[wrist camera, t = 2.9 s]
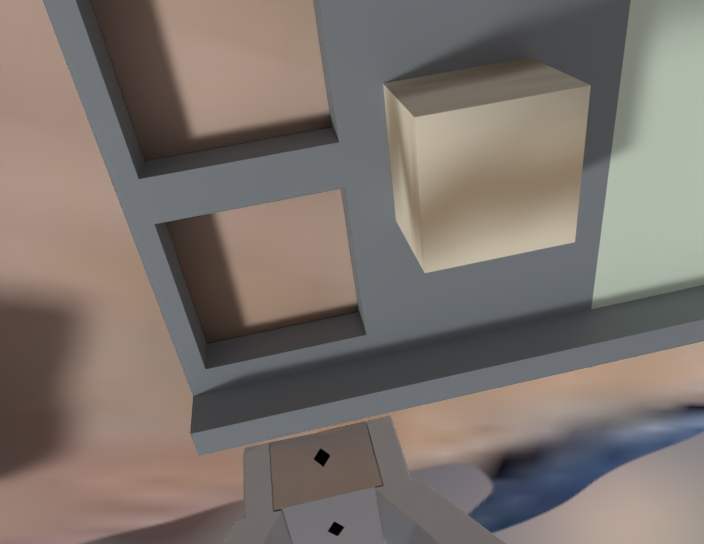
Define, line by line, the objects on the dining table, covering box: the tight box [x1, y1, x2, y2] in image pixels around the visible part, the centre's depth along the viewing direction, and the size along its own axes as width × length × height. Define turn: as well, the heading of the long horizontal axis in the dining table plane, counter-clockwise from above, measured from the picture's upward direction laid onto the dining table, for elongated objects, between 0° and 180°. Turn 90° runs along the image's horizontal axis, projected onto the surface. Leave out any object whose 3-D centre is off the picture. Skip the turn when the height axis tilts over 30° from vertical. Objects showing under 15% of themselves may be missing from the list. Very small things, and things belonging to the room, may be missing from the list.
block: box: [383, 57, 591, 273], centre depth 22 cm, size 6×6×4 cm
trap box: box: [43, 0, 704, 455], centre depth 24 cm, size 24×32×4 cm
